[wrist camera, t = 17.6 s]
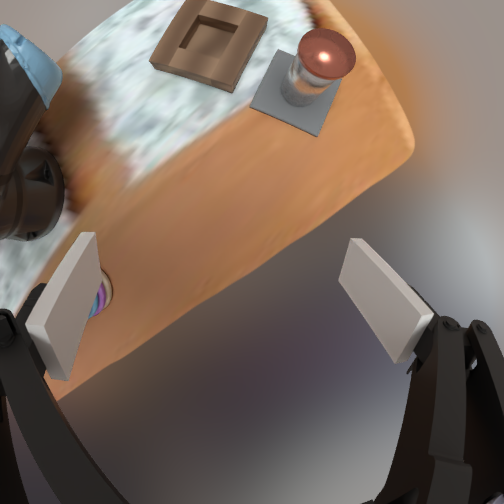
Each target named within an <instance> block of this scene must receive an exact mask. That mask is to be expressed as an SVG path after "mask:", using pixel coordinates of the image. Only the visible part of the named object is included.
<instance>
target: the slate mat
mask: <svg viewBox="0 0 504 504" xmlns="http://www.w3.org/2000/svg"><path fill="white" fill-rule="evenodd" d="M295 57H296V56H293V55H291V54H289V53H286V52H284V51H281V50H279V49H278V50H277V52H276V54H275V56H274V58H273V60H272V62H271V64H270V66H269V68H268V70H267V72H266V74H265V76H264V78H263V80H262V82H261V84H260V86H259V88H258V90H257V92H256V94H255V96H254V99H253V101H252V103H251V105H250V108H253V109H255V110H258V111H260V112H262V113H265V114H267V115H269V116H272V117H274V118H276V119H279V120H281V121H283V122H286V123H288V124H290V125H292V126H294V127H296V128H299V129H301V130H303V131H305V132H307V133H309V134H311V135H313V136H315V137H318V135H319V132H320V130H321V127H322V125H323V123H324V120H325V118H326V116H327V113H328V111H329V109H330V106H331V104H332V102H333V99H334V97H335V94H336V92H337V90H338V87H339V85H340V82H341V80H342V79H337V80H336V81H335V82H333V83H332V84H331V85H330V86H329V87H328V88H327V89H326V90H325V91H324V92H323V93H322V94H320V95H319V96H318V97H317V98H316V99H315V100H314V101H313V102H312V103H311V104H310V105H308V106H305V107H295V106H292V105H290V104H289V103H287V102H286V101H285V100H284V98H283V97H282V95H281V91H280V87H281V84H282V82H283V80H284V78H285V76H286V74H287V72H288V70H289V68H290V66H291V64H292V62H293V60H294V59H295Z"/></svg>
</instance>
